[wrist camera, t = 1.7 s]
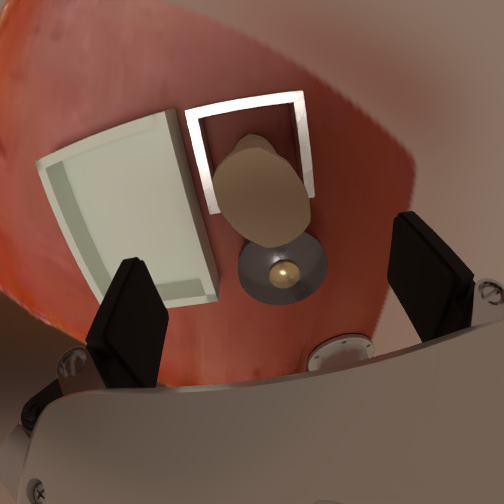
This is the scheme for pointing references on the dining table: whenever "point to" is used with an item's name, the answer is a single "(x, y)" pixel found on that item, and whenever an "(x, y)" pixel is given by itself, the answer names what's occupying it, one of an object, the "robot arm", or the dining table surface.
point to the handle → (261, 194)
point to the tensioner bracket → (252, 254)
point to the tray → (133, 208)
